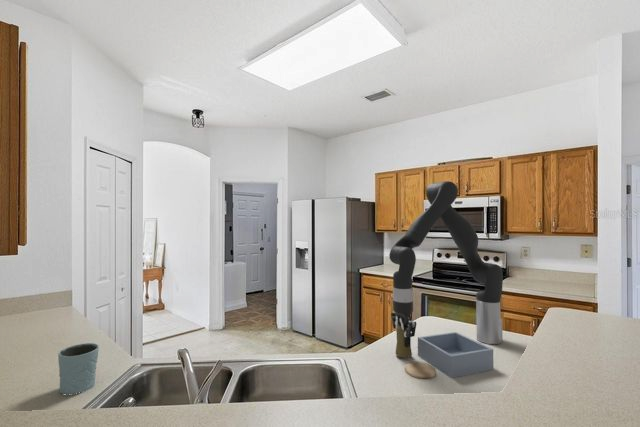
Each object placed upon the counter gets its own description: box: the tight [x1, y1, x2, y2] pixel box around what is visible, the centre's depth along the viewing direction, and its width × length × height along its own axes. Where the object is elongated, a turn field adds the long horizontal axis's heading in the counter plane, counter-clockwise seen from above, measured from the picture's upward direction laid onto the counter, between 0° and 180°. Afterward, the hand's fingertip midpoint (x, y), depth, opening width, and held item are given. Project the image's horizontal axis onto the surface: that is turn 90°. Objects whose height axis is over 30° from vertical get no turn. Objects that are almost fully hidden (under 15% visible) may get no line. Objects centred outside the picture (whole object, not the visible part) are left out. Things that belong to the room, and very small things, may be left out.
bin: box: [417, 331, 494, 379], centre depth 116 cm, size 18×18×7 cm
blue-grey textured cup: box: [57, 342, 100, 395], centre depth 99 cm, size 10×10×12 cm
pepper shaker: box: [395, 325, 413, 358], centre depth 121 cm, size 6×6×11 cm
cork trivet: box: [404, 361, 437, 380], centre depth 109 cm, size 10×10×1 cm
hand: (403, 343), depth 121 cm, fingers closed on pepper shaker, 4 cm apart
